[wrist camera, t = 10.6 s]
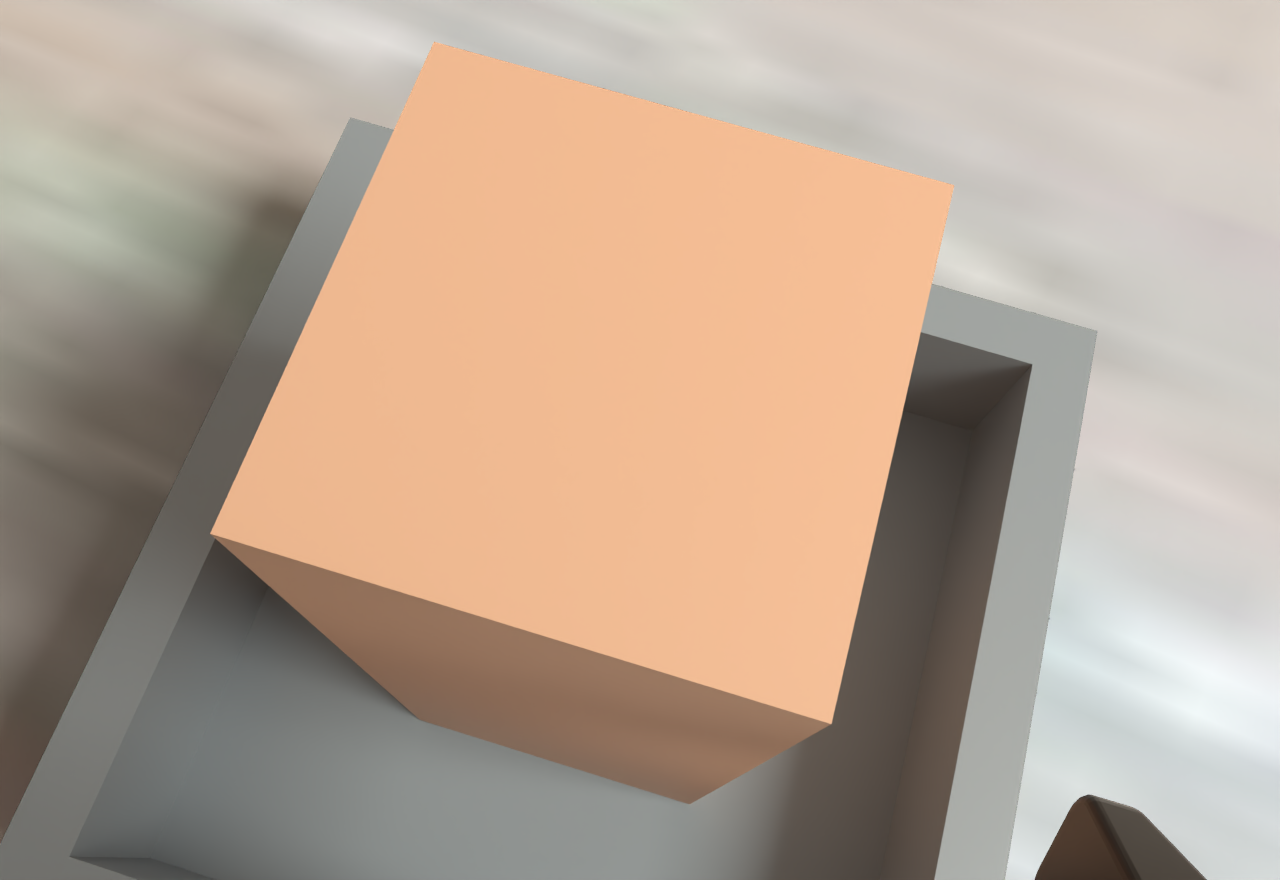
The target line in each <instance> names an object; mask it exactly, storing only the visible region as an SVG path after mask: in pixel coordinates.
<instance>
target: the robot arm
mask: <svg viewBox="0 0 1280 880" xmlns="http://www.w3.org/2000/svg"><path fill="white" fill-rule="evenodd" d="M1035 880H1207V879H1206V878H1205V877H1204V876H1203V875H1202V874H1201V873H1200V872H1199V871H1198V870H1197V869H1196V868H1195V867H1194V866H1193V865H1192V864H1191V863H1190V862H1189V861H1188V860H1187V859H1186V858H1185V857H1184V856H1183V855H1182V854H1181V853H1180V851H1179V850H1178V849H1177V848H1176V847H1175V846H1174V845H1173V844H1172V843H1171V842H1170V841H1169V840H1168V839H1167V838H1166V837H1165V836H1164V835H1163V834H1162V833H1161V832H1160V831H1159V830H1158V829H1157V828H1156V827H1155V826H1154V825H1153V823H1152V822H1151V821H1150V820H1149V819H1148V818H1147V817H1146V816H1145V815H1144V814H1143V813H1142V812H1140V811H1139V810H1137V809H1135V808H1133V807H1130V806H1127V805H1124V804H1120V803H1117V802H1114V801H1110V800H1107V799H1104V798H1100V797H1097V796H1094V795H1086V796H1083V797H1080V798H1079V799H1078V800H1077V801H1076V802H1075V803H1074V804H1073V806H1072V807H1071V809H1070V810H1069V812H1068V814H1067V816H1066V818H1065V820H1064V822H1063V824H1062V826H1061V827H1060V829H1059V831H1058V833H1057V835H1056V837H1055V839H1054V841H1053V843H1052V845H1051V847H1050V848H1049V850H1048V852H1047V854H1046V856H1045V858H1044V860H1043V862H1042V864H1041V866H1040V867H1039V870H1038V872H1037V874H1036V877H1035Z"/></svg>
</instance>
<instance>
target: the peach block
mask: <svg viewBox="0 0 1280 880" xmlns="http://www.w3.org/2000/svg"><path fill="white" fill-rule="evenodd" d="M953 188H954V185H951V184H948V183H944V182H940V181H937V180H933V179H930V178H926V177H922V176H919V175H915V174H911V173H908V172H904V171H901V170H897V169H893V168H890V167H886V166H882V165H879V164H875V163H872V162H868V161H864V160H861V159H857V158H853V157H850V156H846V155H843V154H839V153H835V152H832V151H828V150H824V149H821V148H817V147H814V146H810V145H806V144H803V143H799V142H795V141H792V140H788V139H785V138H781V137H777V136H774V135H770V134H766V133H763V132H759V131H755V130H752V129H748V128H745V127H741V126H737V125H734V124H730V123H726V122H723V121H719V120H716V119H712V118H708V117H705V116H701V115H697V114H694V113H690V112H687V111H683V110H679V109H676V108H672V107H668V106H665V105H661V104H658V103H654V102H650V101H647V100H643V99H639V98H636V97H632V96H629V95H625V94H621V93H618V92H614V91H610V90H607V89H603V88H600V87H596V86H592V85H589V84H585V83H581V82H578V81H574V80H571V79H567V78H563V77H560V76H556V75H552V74H549V73H545V72H541V71H538V70H534V69H531V68H527V67H523V66H520V65H516V64H512V63H509V62H505V61H502V60H498V59H494V58H491V57H487V56H483V55H480V54H476V53H473V52H469V51H465V50H462V49H458V48H454V47H451V46H447V45H444V44H440V43H436V42H434V43H433V45H432V48H431V50H430V52H429V54H428V56H427V59H426V61H425V63H424V65H423V67H422V70H421V72H420V74H419V76H418V78H417V81H416V83H415V85H414V87H413V89H412V91H411V94H410V96H409V98H408V100H407V102H406V105H405V107H404V109H403V111H402V113H401V116H400V118H399V120H398V122H397V124H396V127H395V129H394V131H393V133H392V135H391V138H390V140H389V142H388V144H387V146H386V149H385V151H384V153H383V155H382V157H381V160H380V162H379V164H378V166H377V168H376V171H375V173H374V175H373V177H372V179H371V182H370V184H369V186H368V188H367V190H366V192H365V195H364V197H363V199H362V201H361V203H360V206H359V208H358V210H357V212H356V214H355V217H354V219H353V221H352V223H351V225H350V228H349V230H348V232H347V234H346V236H345V239H344V241H343V243H342V245H341V247H340V250H339V252H338V254H337V256H336V258H335V261H334V263H333V265H332V267H331V269H330V272H329V274H328V276H327V278H326V280H325V283H324V285H323V287H322V289H321V291H320V294H319V296H318V298H317V300H316V302H315V304H314V307H313V309H312V311H311V313H310V315H309V318H308V320H307V322H306V324H305V326H304V329H303V331H302V333H301V335H300V337H299V340H298V342H297V344H296V346H295V348H294V351H293V353H292V355H291V357H290V359H289V362H288V364H287V366H286V368H285V370H284V373H283V375H282V377H281V379H280V381H279V384H278V386H277V388H276V390H275V392H274V395H273V397H272V399H271V401H270V403H269V405H268V408H267V410H266V412H265V414H264V416H263V419H262V421H261V423H260V425H259V427H258V430H257V432H256V434H255V436H254V438H253V441H252V443H251V445H250V447H249V449H248V452H247V454H246V456H245V458H244V460H243V463H242V465H241V467H240V469H239V471H238V474H237V476H236V478H235V480H234V482H233V485H232V487H231V489H230V491H229V493H228V496H227V498H226V500H225V502H224V504H223V507H222V509H221V511H220V513H219V515H218V517H217V520H216V522H215V524H214V526H213V528H212V531H211V533H210V534H211V535H212V536H213V537H214V538H216V539H217V540H218V541H219V542H220V543H221V544H222V545H223V546H225V547H226V548H227V549H228V550H229V551H230V552H231V553H232V554H234V555H235V556H236V557H237V558H238V559H239V560H240V561H241V562H243V563H244V564H245V565H246V566H247V567H248V568H249V569H250V570H252V571H253V572H254V573H255V574H256V575H257V576H258V577H259V578H261V579H262V580H263V581H264V582H265V583H266V584H267V585H268V586H270V587H271V588H272V589H273V590H274V591H275V592H276V593H277V594H279V595H280V596H281V597H282V598H283V599H284V600H285V601H286V602H288V603H289V604H290V605H291V606H292V607H293V608H294V609H296V610H297V611H298V612H299V613H300V614H301V615H302V616H303V617H305V618H306V619H307V620H308V621H309V622H310V623H311V624H312V625H314V626H315V627H316V628H317V629H318V630H319V631H320V632H321V633H323V634H324V635H325V636H326V637H327V638H328V639H329V640H330V641H332V642H333V643H334V644H335V645H336V646H337V647H338V648H339V649H341V650H342V651H343V652H344V653H345V654H346V655H347V656H348V657H350V658H351V659H352V660H353V661H354V662H355V663H356V664H357V665H359V666H360V667H361V668H362V669H363V670H364V671H365V672H366V673H368V674H369V675H370V676H371V677H372V678H373V679H374V680H375V681H377V682H378V683H379V684H380V685H381V686H382V687H383V688H385V689H386V690H387V691H388V692H389V693H390V694H391V695H392V696H394V697H395V698H396V699H397V700H398V701H399V702H400V703H401V704H403V705H404V706H405V707H406V708H407V709H408V710H409V711H410V712H412V713H413V714H414V715H415V716H416V717H417V718H418V719H419V720H422V721H425V722H428V723H431V724H434V725H438V726H441V727H444V728H447V729H450V730H454V731H457V732H460V733H463V734H466V735H470V736H473V737H476V738H479V739H482V740H485V741H489V742H492V743H495V744H498V745H501V746H505V747H508V748H511V749H514V750H517V751H521V752H524V753H527V754H530V755H533V756H537V757H540V758H543V759H546V760H549V761H553V762H556V763H559V764H562V765H565V766H568V767H572V768H575V769H578V770H581V771H584V772H588V773H591V774H594V775H597V776H600V777H604V778H607V779H610V780H613V781H616V782H620V783H623V784H626V785H629V786H632V787H636V788H639V789H642V790H645V791H648V792H652V793H655V794H658V795H661V796H664V797H667V798H671V799H674V800H677V801H680V802H683V803H687V804H691V803H693V802H695V801H697V800H698V799H700V798H702V797H704V796H705V795H707V794H709V793H711V792H713V791H714V790H716V789H718V788H720V787H721V786H723V785H725V784H727V783H728V782H730V781H732V780H734V779H735V778H737V777H739V776H741V775H743V774H744V773H746V772H748V771H750V770H751V769H753V768H755V767H757V766H758V765H760V764H762V763H764V762H766V761H767V760H769V759H771V758H773V757H774V756H776V755H778V754H780V753H781V752H783V751H785V750H787V749H788V748H790V747H792V746H794V745H796V744H797V743H799V742H801V741H803V740H804V739H806V738H808V737H810V736H811V735H813V734H815V733H817V732H819V731H820V730H822V729H824V728H826V727H827V726H829V725H831V724H832V720H833V715H834V711H835V706H836V702H837V698H838V693H839V689H840V685H841V680H842V676H843V671H844V667H845V663H846V658H847V654H848V649H849V645H850V641H851V636H852V632H853V627H854V623H855V619H856V614H857V610H858V605H859V601H860V597H861V592H862V588H863V583H864V579H865V575H866V570H867V566H868V562H869V557H870V553H871V548H872V544H873V540H874V535H875V531H876V526H877V522H878V518H879V513H880V509H881V504H882V500H883V496H884V491H885V487H886V482H887V478H888V474H889V469H890V465H891V461H892V456H893V452H894V447H895V443H896V439H897V434H898V430H899V425H900V421H901V417H902V412H903V408H904V403H905V399H906V395H907V390H908V386H909V381H910V377H911V373H912V368H913V364H914V360H915V355H916V351H917V346H918V342H919V338H920V333H921V329H922V324H923V320H924V316H925V311H926V307H927V302H928V298H929V294H930V289H931V285H932V280H933V276H934V272H935V267H936V263H937V259H938V254H939V250H940V245H941V241H942V237H943V232H944V228H945V223H946V219H947V215H948V210H949V206H950V201H951V197H952V193H953Z"/></svg>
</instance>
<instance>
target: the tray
mask: <svg viewBox="0 0 1280 880" xmlns="http://www.w3.org/2000/svg"><path fill="white" fill-rule="evenodd" d="M393 131H394V130H392V129H389V128H385V127H382V126H378V125H375V124H371V123H368V122H364V121H361V120H357V119H354V118H350V119H349V121H348V123H347V125H346V127H345V130H344V132H343V134H342V136H341V138H340V140H339V142H338V144H337V146H336V148H335V150H334V152H333V154H332V156H331V159H330V161H329V163H328V165H327V167H326V169H325V171H324V173H323V175H322V177H321V179H320V181H319V183H318V186H317V188H316V190H315V192H314V194H313V196H312V198H311V200H310V202H309V204H308V206H307V208H306V210H305V213H304V215H303V217H302V219H301V221H300V223H299V225H298V227H297V229H296V231H295V233H294V235H293V237H292V239H291V242H290V244H289V246H288V248H287V250H286V252H285V254H284V256H283V258H282V260H281V262H280V264H279V266H278V269H277V271H276V273H275V275H274V277H273V279H272V281H271V283H270V285H269V287H268V289H267V291H266V293H265V295H264V298H263V300H262V302H261V304H260V306H259V308H258V310H257V312H256V314H255V316H254V318H253V320H252V322H251V325H250V327H249V329H248V331H247V333H246V335H245V337H244V339H243V341H242V343H241V345H240V347H239V349H238V351H237V354H236V356H235V358H234V360H233V362H232V364H231V366H230V368H229V370H228V372H227V374H226V376H225V378H224V381H223V383H222V385H221V387H220V389H219V391H218V393H217V395H216V397H215V399H214V401H213V403H212V405H211V408H210V410H209V412H208V414H207V416H206V418H205V420H204V422H203V424H202V426H201V428H200V430H199V432H198V434H197V437H196V439H195V441H194V443H193V445H192V447H191V449H190V451H189V453H188V455H187V457H186V459H185V461H184V464H183V466H182V468H181V470H180V472H179V474H178V476H177V478H176V480H175V482H174V484H173V486H172V488H171V490H170V493H169V495H168V497H167V499H166V501H165V503H164V505H163V507H162V509H161V511H160V513H159V515H158V517H157V520H156V522H155V524H154V526H153V528H152V530H151V532H150V534H149V536H148V538H147V540H146V542H145V544H144V547H143V549H142V551H141V553H140V555H139V557H138V559H137V561H136V563H135V565H134V567H133V569H132V571H131V573H130V576H129V578H128V580H127V582H126V584H125V586H124V588H123V590H122V592H121V594H120V596H119V598H118V600H117V603H116V605H115V607H114V609H113V611H112V613H111V615H110V617H109V619H108V621H107V623H106V625H105V627H104V629H103V632H102V634H101V636H100V638H99V640H98V642H97V644H96V646H95V648H94V650H93V652H92V654H91V656H90V659H89V661H88V663H87V665H86V667H85V669H84V671H83V673H82V675H81V677H80V679H79V681H78V683H77V685H76V688H75V690H74V692H73V694H72V696H71V698H70V700H69V702H68V704H67V706H66V708H65V710H64V712H63V715H62V717H61V719H60V721H59V723H58V725H57V727H56V729H55V731H54V733H53V735H52V737H51V739H50V742H49V744H48V746H47V748H46V750H45V752H44V754H43V756H42V758H41V760H40V762H39V764H38V766H37V768H36V771H35V773H34V775H33V777H32V779H31V781H30V783H29V785H28V787H27V789H26V791H25V793H24V795H23V798H22V800H21V802H20V804H19V806H18V808H17V810H16V812H15V814H14V816H13V818H12V820H11V822H10V824H9V827H8V829H7V831H6V833H5V835H4V837H3V839H2V841H1V843H0V880H1005V875H1006V869H1007V863H1008V857H1009V851H1010V845H1011V839H1012V834H1013V828H1014V822H1015V816H1016V810H1017V804H1018V798H1019V792H1020V786H1021V780H1022V774H1023V768H1024V762H1025V757H1026V751H1027V745H1028V739H1029V733H1030V727H1031V721H1032V715H1033V709H1034V703H1035V697H1036V691H1037V685H1038V680H1039V674H1040V668H1041V662H1042V656H1043V650H1044V644H1045V638H1046V632H1047V626H1048V620H1049V614H1050V609H1051V603H1052V597H1053V591H1054V585H1055V579H1056V573H1057V567H1058V561H1059V555H1060V549H1061V543H1062V537H1063V532H1064V526H1065V520H1066V514H1067V508H1068V502H1069V496H1070V490H1071V484H1072V478H1073V472H1074V466H1075V460H1076V455H1077V449H1078V443H1079V437H1080V431H1081V425H1082V419H1083V413H1084V407H1085V401H1086V395H1087V389H1088V383H1089V378H1090V372H1091V366H1092V360H1093V354H1094V348H1095V342H1096V336H1097V331H1095V330H1092V329H1088V328H1085V327H1081V326H1078V325H1074V324H1071V323H1067V322H1064V321H1060V320H1057V319H1053V318H1050V317H1046V316H1043V315H1039V314H1036V313H1032V312H1029V311H1025V310H1022V309H1018V308H1015V307H1011V306H1008V305H1004V304H1001V303H997V302H994V301H990V300H987V299H983V298H980V297H976V296H973V295H969V294H966V293H962V292H959V291H955V290H952V289H948V288H945V287H941V286H938V285H934V284H932V285H931V289H930V294H929V298H928V302H927V307H926V311H925V316H924V320H923V324H922V329H921V333H920V338H919V342H918V346H917V351H916V355H915V360H914V364H913V368H912V373H911V377H910V381H909V386H908V390H907V395H906V399H905V403H904V408H903V412H902V417H901V421H900V425H899V430H898V434H897V439H896V443H895V447H894V452H893V456H892V461H891V465H890V469H889V474H888V478H887V482H886V487H885V491H884V496H883V500H882V504H881V509H880V513H879V518H878V522H877V526H876V531H875V535H874V540H873V544H872V548H871V553H870V557H869V562H868V566H867V570H866V575H865V579H864V583H863V588H862V592H861V597H860V601H859V605H858V610H857V614H856V619H855V623H854V627H853V632H852V636H851V641H850V645H849V649H848V654H847V658H846V663H845V667H844V671H843V676H842V680H841V685H840V689H839V693H838V698H837V702H836V706H835V711H834V715H833V720H832V724H831V725H829V726H827V727H826V728H824V729H822V730H820V731H819V732H817V733H815V734H813V735H811V736H810V737H808V738H806V739H804V740H803V741H801V742H799V743H797V744H796V745H794V746H792V747H790V748H788V749H787V750H785V751H783V752H781V753H780V754H778V755H776V756H774V757H773V758H771V759H769V760H767V761H766V762H764V763H762V764H760V765H758V766H757V767H755V768H753V769H751V770H750V771H748V772H746V773H744V774H743V775H741V776H739V777H737V778H735V779H734V780H732V781H730V782H728V783H727V784H725V785H723V786H721V787H720V788H718V789H716V790H714V791H713V792H711V793H709V794H707V795H705V796H704V797H702V798H700V799H698V800H697V801H695V802H693V803H691V804H687V803H683V802H680V801H677V800H674V799H671V798H667V797H664V796H661V795H658V794H655V793H652V792H648V791H645V790H642V789H639V788H636V787H632V786H629V785H626V784H623V783H620V782H616V781H613V780H610V779H607V778H604V777H600V776H597V775H594V774H591V773H588V772H584V771H581V770H578V769H575V768H572V767H568V766H565V765H562V764H559V763H556V762H553V761H549V760H546V759H543V758H540V757H537V756H533V755H530V754H527V753H524V752H521V751H517V750H514V749H511V748H508V747H505V746H501V745H498V744H495V743H492V742H489V741H485V740H482V739H479V738H476V737H473V736H470V735H466V734H463V733H460V732H457V731H454V730H450V729H447V728H444V727H441V726H438V725H434V724H431V723H428V722H425V721H422V720H419V719H418V718H417V717H416V716H415V715H414V714H413V713H412V712H410V711H409V710H408V709H407V708H406V707H405V706H404V705H403V704H401V703H400V702H399V701H398V700H397V699H396V698H395V697H394V696H392V695H391V694H390V693H389V692H388V691H387V690H386V689H385V688H383V687H382V686H381V685H380V684H379V683H378V682H377V681H375V680H374V679H373V678H372V677H371V676H370V675H369V674H368V673H366V672H365V671H364V670H363V669H362V668H361V667H360V666H359V665H357V664H356V663H355V662H354V661H353V660H352V659H351V658H350V657H348V656H347V655H346V654H345V653H344V652H343V651H342V650H341V649H339V648H338V647H337V646H336V645H335V644H334V643H333V642H332V641H330V640H329V639H328V638H327V637H326V636H325V635H324V634H323V633H321V632H320V631H319V630H318V629H317V628H316V627H315V626H314V625H312V624H311V623H310V622H309V621H308V620H307V619H306V618H305V617H303V616H302V615H301V614H300V613H299V612H298V611H297V610H296V609H294V608H293V607H292V606H291V605H290V604H289V603H288V602H286V601H285V600H284V599H283V598H282V597H281V596H280V595H279V594H277V593H276V592H275V591H274V590H273V589H272V588H271V587H270V586H268V585H267V584H266V583H265V582H264V581H263V580H262V579H261V578H259V577H258V576H257V575H256V574H255V573H254V572H253V571H252V570H250V569H249V568H248V567H247V566H246V565H245V564H244V563H243V562H241V561H240V560H239V559H238V558H237V557H236V556H235V555H234V554H232V553H231V552H230V551H229V550H228V549H227V548H226V547H225V546H223V545H222V544H221V543H220V542H219V541H218V540H217V539H216V538H214V537H213V536H212V535H211V534H210V533H211V531H212V528H213V526H214V524H215V522H216V520H217V517H218V515H219V513H220V511H221V509H222V507H223V504H224V502H225V500H226V498H227V496H228V493H229V491H230V489H231V487H232V485H233V482H234V480H235V478H236V476H237V474H238V471H239V469H240V467H241V465H242V463H243V460H244V458H245V456H246V454H247V452H248V449H249V447H250V445H251V443H252V441H253V438H254V436H255V434H256V432H257V430H258V427H259V425H260V423H261V421H262V419H263V416H264V414H265V412H266V410H267V408H268V405H269V403H270V401H271V399H272V397H273V395H274V392H275V390H276V388H277V386H278V384H279V381H280V379H281V377H282V375H283V373H284V370H285V368H286V366H287V364H288V362H289V359H290V357H291V355H292V353H293V351H294V348H295V346H296V344H297V342H298V340H299V337H300V335H301V333H302V331H303V329H304V326H305V324H306V322H307V320H308V318H309V315H310V313H311V311H312V309H313V307H314V304H315V302H316V300H317V298H318V296H319V294H320V291H321V289H322V287H323V285H324V283H325V280H326V278H327V276H328V274H329V272H330V269H331V267H332V265H333V263H334V261H335V258H336V256H337V254H338V252H339V250H340V247H341V245H342V243H343V241H344V239H345V236H346V234H347V232H348V230H349V228H350V225H351V223H352V221H353V219H354V217H355V214H356V212H357V210H358V208H359V206H360V203H361V201H362V199H363V197H364V195H365V192H366V190H367V188H368V186H369V184H370V182H371V179H372V177H373V175H374V173H375V171H376V168H377V166H378V164H379V162H380V160H381V157H382V155H383V153H384V151H385V149H386V146H387V144H388V142H389V140H390V138H391V135H392V133H393Z"/></svg>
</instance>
